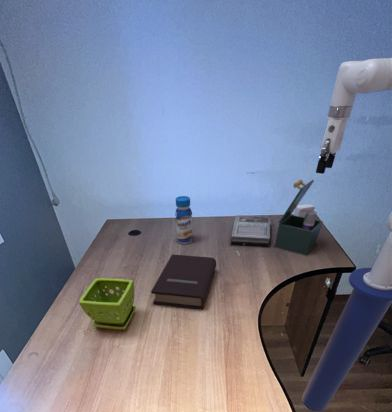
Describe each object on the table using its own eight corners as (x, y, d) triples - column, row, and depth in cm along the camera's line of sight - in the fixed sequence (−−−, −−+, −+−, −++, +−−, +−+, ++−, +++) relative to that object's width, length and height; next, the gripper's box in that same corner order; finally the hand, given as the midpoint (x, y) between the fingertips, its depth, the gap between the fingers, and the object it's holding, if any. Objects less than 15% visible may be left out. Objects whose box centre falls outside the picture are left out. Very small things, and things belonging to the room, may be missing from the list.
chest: (315, 243, 130) (322, 221, 122) (306, 255, 123) (312, 231, 115) (285, 236, 137) (290, 214, 129) (274, 246, 129) (279, 224, 121)
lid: (314, 180, 115) (305, 173, 115) (302, 189, 107) (293, 181, 108) (291, 214, 129) (283, 207, 129) (279, 223, 121) (271, 216, 122)
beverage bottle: (194, 237, 139) (193, 195, 124) (192, 244, 133) (190, 201, 119) (178, 236, 140) (175, 194, 125) (175, 244, 134) (171, 201, 120)
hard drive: (230, 245, 132) (231, 236, 129) (235, 223, 150) (236, 215, 147) (268, 247, 129) (269, 238, 126) (268, 225, 147) (269, 216, 144)
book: (204, 310, 97) (204, 296, 92) (153, 304, 100) (151, 291, 95) (216, 270, 115) (216, 257, 111) (173, 266, 118) (172, 254, 114)
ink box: (304, 226, 145) (310, 203, 136) (309, 230, 141) (315, 206, 133) (290, 228, 143) (295, 205, 135) (294, 232, 140) (300, 208, 131)
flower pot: (105, 306, 99) (95, 276, 90) (141, 309, 98) (134, 279, 88) (89, 331, 90) (76, 301, 81) (128, 335, 88) (119, 304, 79)
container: (298, 247, 126) (306, 214, 116) (297, 243, 130) (305, 210, 119) (308, 247, 126) (318, 214, 115) (306, 243, 129) (316, 210, 118)
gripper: (343, 115, 87) (326, 176, 99) (356, 110, 96) (339, 166, 108) (320, 115, 90) (306, 174, 102) (335, 110, 99) (321, 164, 112)
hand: (323, 170), depth 105 cm, fingers open, 9 cm apart
